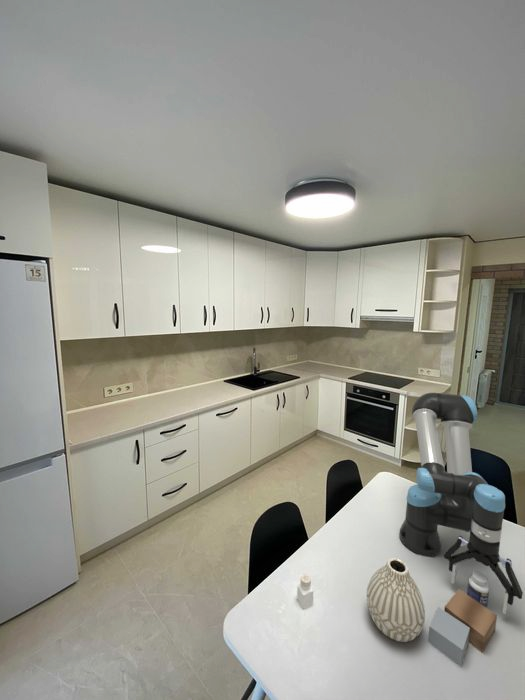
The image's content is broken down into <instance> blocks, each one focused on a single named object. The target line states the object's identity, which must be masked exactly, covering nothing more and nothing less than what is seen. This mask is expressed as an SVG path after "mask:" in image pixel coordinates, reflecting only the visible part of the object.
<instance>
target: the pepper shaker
mask: <svg viewBox="0 0 525 700" xmlns="http://www.w3.org/2000/svg"><path fill="white" fill-rule="evenodd" d="M311 583H312V580H311V576H310V574H308V573H303V574H301V576H300V582H299V583H298V584H297V586H296V587H297V591H296V593H297V594H296V600H297V602H298V603H299V606H300V607H301V609H302V610H305V609H307V608H311V607H312V606H313V605H314V588H313V587H312V585H311Z"/></svg>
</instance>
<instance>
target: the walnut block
mask: <svg viewBox="0 0 525 700" xmlns="http://www.w3.org/2000/svg"><path fill="white" fill-rule="evenodd" d="M457 589H458V590H456V592H455V593H454V594H453V596H451V598H450V599H449V600H448V601H447V603H446V604H445V605H444V609H443V610H444V611H445V612H447V613H448V614H450V615H451V616H453V617H454V618H456V619H457V620H459V621H460V622H462V623H463V624H465V625H466V626H468V627H469V628H470V632H469V640H468V644H470V645H471V646H472V647H474V649H476V650H477V651H479V652H480V653H483V652H485V651H484V650H485V649H486V647H487V646H488V643H489V642H490V641H491V639H492V638H493V635H494V634H495V632H496V626H497V619H498V615H497V614H496V613H494V612H493V611H492V610H490V609H489V608H486V607H484V606H483V605H482V604H480V603H479V602H477V601H476V600H474V599H473V598H471V597H470V596H469V595H467V592H465V591H463V590H461V589H460V588H457Z"/></svg>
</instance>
